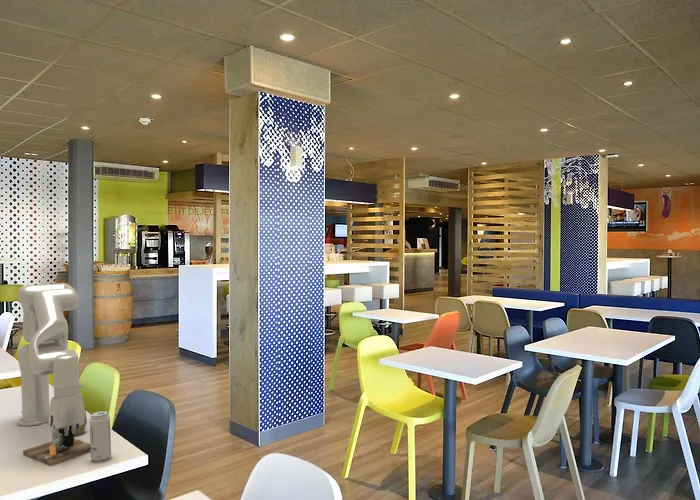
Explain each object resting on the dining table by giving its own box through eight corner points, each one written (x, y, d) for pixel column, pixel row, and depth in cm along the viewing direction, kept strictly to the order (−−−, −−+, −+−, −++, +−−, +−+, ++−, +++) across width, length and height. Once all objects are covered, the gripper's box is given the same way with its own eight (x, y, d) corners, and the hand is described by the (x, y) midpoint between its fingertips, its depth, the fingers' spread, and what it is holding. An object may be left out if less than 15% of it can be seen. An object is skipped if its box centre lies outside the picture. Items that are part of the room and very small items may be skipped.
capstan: (49, 446, 182) (49, 432, 182) (72, 443, 184) (71, 429, 184) (40, 460, 170) (40, 445, 170) (64, 457, 172) (64, 442, 172)
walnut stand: (23, 454, 179) (23, 449, 179) (67, 440, 192) (67, 435, 192) (51, 466, 170) (50, 460, 170) (95, 449, 182) (95, 444, 182)
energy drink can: (89, 458, 175) (87, 413, 175) (108, 453, 178) (107, 409, 178) (93, 464, 170) (91, 417, 170) (113, 459, 174) (111, 413, 173)
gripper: (82, 384, 185) (84, 436, 185) (37, 395, 172) (39, 451, 173) (94, 387, 181) (96, 440, 181) (49, 398, 168) (51, 456, 169)
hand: (68, 446), depth 177 cm, fingers closed
